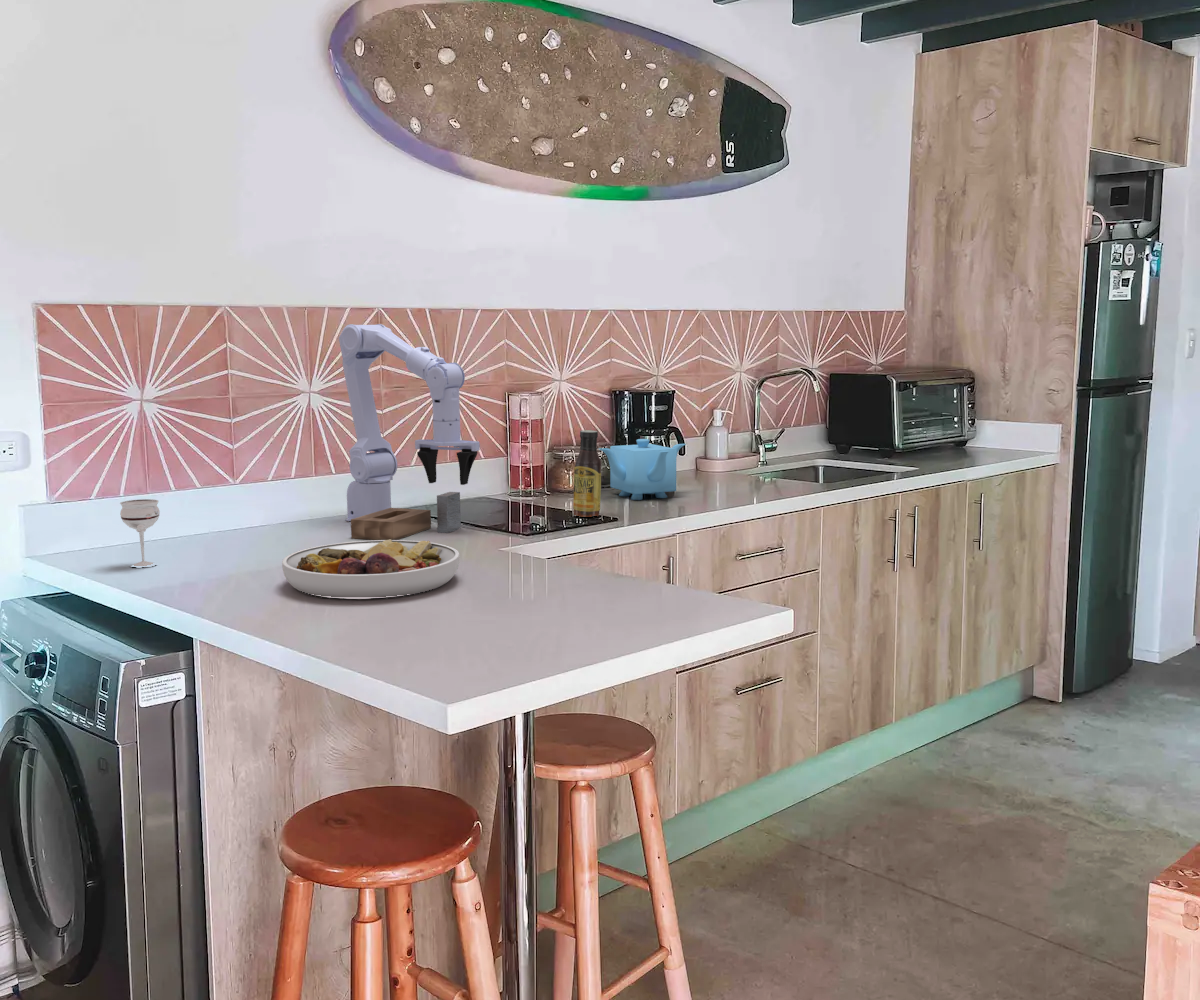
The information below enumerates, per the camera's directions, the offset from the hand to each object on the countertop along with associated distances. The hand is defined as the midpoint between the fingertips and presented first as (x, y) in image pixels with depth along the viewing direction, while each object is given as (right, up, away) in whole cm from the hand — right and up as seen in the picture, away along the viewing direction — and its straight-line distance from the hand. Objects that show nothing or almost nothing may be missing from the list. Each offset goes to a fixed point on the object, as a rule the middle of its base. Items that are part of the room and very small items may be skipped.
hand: (448, 483), depth 248 cm
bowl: (-7, -18, -47) cm, 51 cm away
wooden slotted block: (-12, -11, -1) cm, 16 cm away
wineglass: (-52, -16, -33) cm, 64 cm away
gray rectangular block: (0, -10, +2) cm, 10 cm away
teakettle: (+44, -3, +48) cm, 65 cm away
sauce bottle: (+30, -8, +18) cm, 36 cm away
